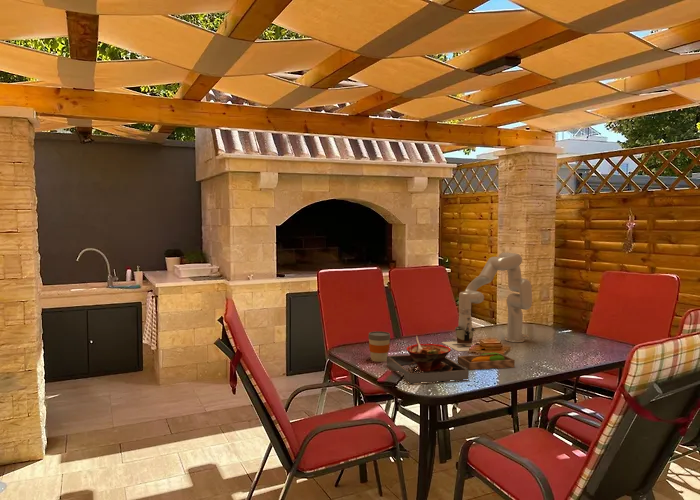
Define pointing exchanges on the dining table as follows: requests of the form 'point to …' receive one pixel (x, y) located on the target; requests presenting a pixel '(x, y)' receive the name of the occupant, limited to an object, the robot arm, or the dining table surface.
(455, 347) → the letter board
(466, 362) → the tray
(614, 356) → the dining table surface
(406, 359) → the dark grey tray
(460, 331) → the food container
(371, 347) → the reusable coffee cup
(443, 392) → the dining table surface
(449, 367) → the stew
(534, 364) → the dining table surface
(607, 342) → the dining table surface
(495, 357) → the corn
